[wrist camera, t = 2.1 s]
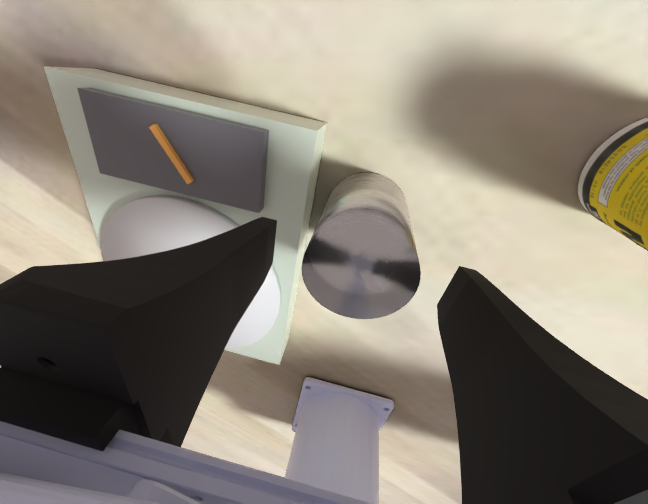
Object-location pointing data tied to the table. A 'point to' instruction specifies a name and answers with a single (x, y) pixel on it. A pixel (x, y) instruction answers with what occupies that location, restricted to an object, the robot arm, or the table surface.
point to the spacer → (363, 250)
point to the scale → (192, 179)
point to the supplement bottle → (619, 182)
